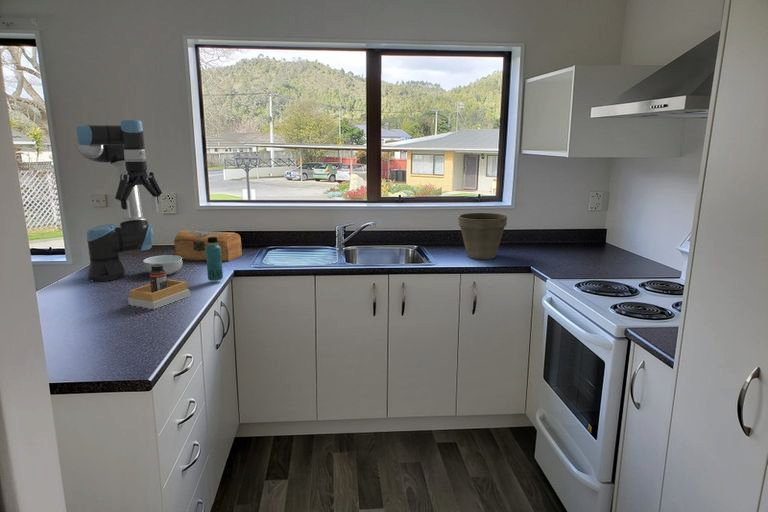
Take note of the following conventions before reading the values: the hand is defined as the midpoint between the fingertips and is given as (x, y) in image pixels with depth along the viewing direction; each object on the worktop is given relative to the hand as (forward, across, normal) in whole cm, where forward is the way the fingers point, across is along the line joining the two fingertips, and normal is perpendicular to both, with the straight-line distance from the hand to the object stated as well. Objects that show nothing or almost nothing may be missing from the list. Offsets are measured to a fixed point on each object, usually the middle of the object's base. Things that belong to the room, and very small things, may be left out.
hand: (141, 214), depth 206 cm
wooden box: (+32, +56, +19) cm, 68 cm away
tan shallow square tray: (+32, -8, -11) cm, 35 cm away
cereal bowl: (+32, +23, +16) cm, 43 cm away
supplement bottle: (+29, -8, -14) cm, 33 cm away
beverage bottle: (+32, +21, -16) cm, 41 cm away
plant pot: (+32, +114, -111) cm, 162 cm away
